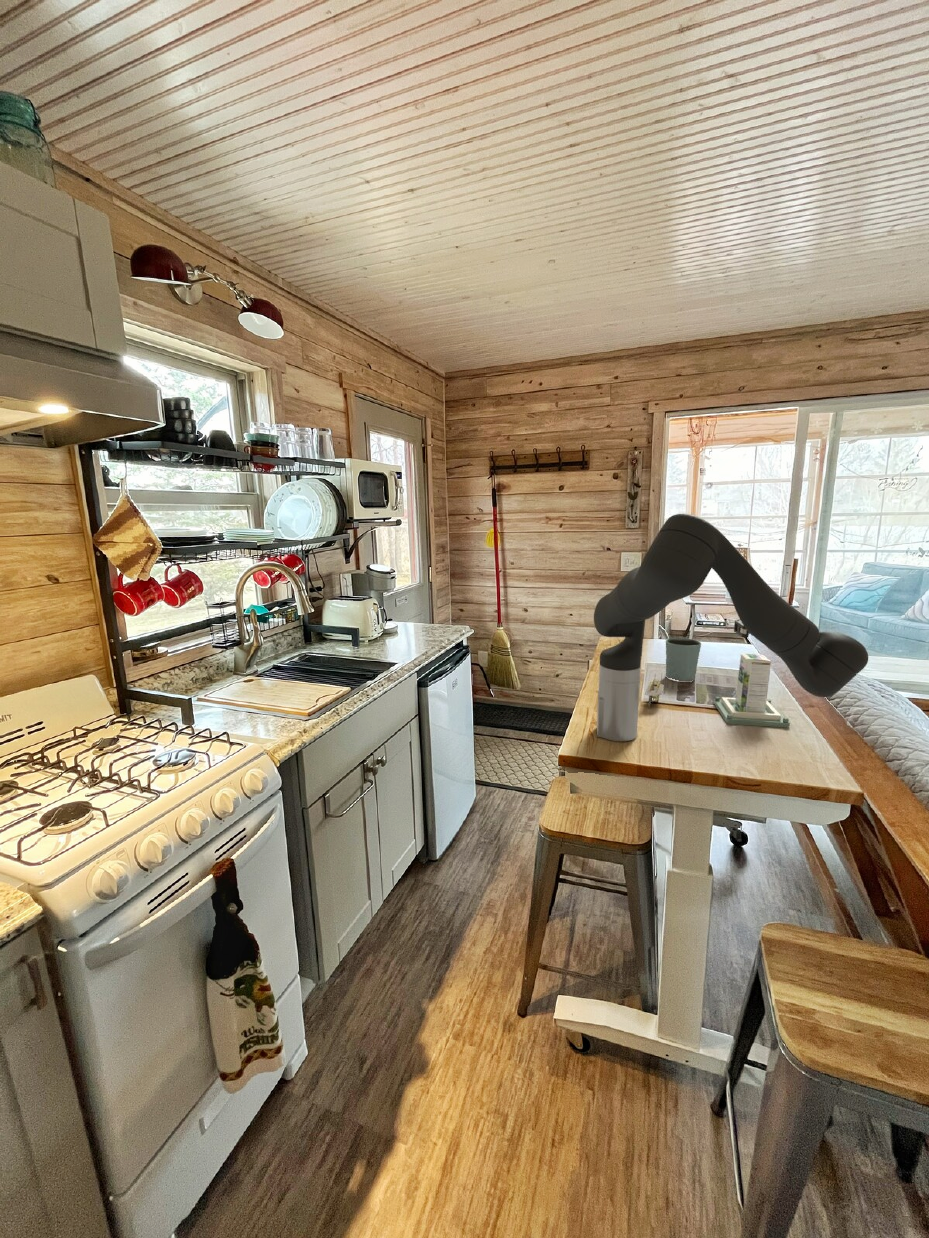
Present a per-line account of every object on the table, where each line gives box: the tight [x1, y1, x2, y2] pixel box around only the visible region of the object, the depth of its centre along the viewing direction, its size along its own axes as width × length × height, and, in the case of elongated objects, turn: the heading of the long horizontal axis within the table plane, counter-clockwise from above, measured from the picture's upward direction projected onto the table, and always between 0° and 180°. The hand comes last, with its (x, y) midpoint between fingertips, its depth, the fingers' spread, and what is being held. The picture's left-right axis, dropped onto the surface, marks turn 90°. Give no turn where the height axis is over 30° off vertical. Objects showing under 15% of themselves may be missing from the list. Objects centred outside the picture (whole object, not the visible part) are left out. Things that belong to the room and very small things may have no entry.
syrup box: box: [735, 653, 772, 713], centre depth 133 cm, size 6×6×14 cm
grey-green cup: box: [665, 637, 702, 681], centre depth 163 cm, size 10×10×12 cm
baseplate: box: [713, 696, 791, 728], centre depth 135 cm, size 14×14×2 cm
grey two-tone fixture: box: [644, 678, 665, 709], centre depth 143 cm, size 12×18×7 cm, turn 153°
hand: (763, 621), depth 115 cm, fingers open, 8 cm apart
